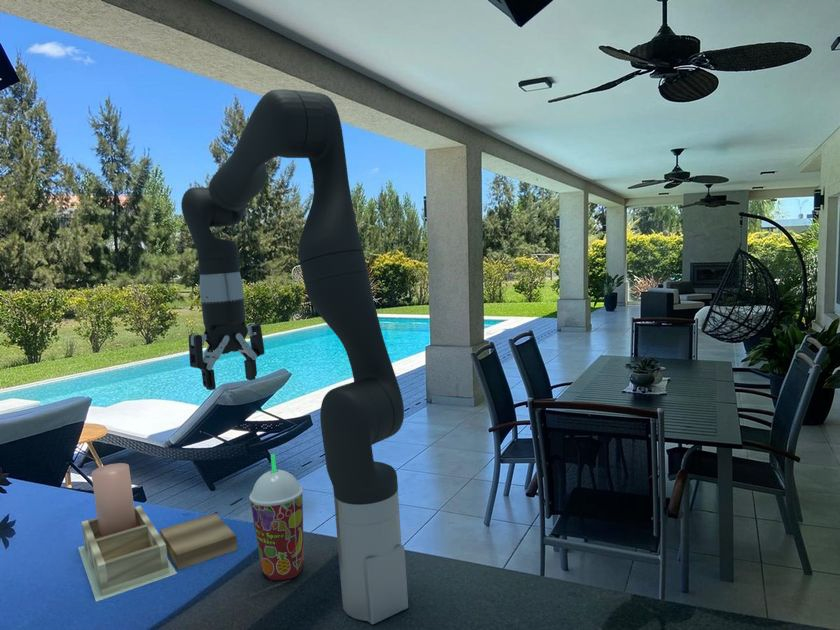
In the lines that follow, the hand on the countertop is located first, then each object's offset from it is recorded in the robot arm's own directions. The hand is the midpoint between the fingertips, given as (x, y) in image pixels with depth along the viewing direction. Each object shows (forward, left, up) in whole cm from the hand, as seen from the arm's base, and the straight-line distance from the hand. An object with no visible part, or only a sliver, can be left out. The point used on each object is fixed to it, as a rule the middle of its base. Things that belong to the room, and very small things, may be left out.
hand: (231, 384), depth 115 cm
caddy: (+1, +21, -27) cm, 35 cm away
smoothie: (-21, +1, -28) cm, 35 cm away
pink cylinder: (+6, +21, -26) cm, 34 cm away
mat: (+1, +21, -28) cm, 35 cm away
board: (-3, +10, -28) cm, 30 cm away
